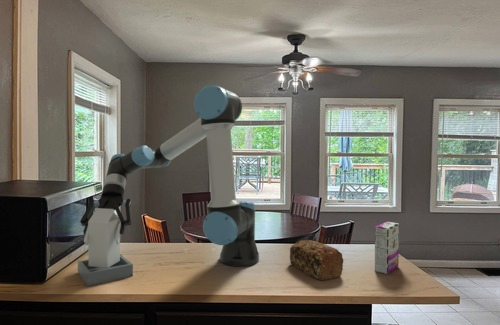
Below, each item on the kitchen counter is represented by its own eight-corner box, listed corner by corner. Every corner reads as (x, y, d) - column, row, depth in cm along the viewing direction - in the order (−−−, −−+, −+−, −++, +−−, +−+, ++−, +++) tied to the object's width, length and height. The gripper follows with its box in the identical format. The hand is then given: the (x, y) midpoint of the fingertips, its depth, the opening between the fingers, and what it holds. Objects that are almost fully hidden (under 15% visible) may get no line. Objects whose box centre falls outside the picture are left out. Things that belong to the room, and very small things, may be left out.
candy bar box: (385, 263, 125) (386, 221, 125) (398, 266, 122) (400, 223, 121) (373, 271, 117) (374, 225, 117) (387, 275, 114) (388, 228, 113)
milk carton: (107, 268, 108) (107, 211, 107) (88, 266, 109) (87, 210, 108) (120, 261, 115) (120, 207, 114) (102, 259, 116) (101, 206, 115)
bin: (132, 275, 111) (132, 264, 110) (87, 286, 102) (87, 273, 102) (119, 264, 122) (119, 253, 121) (77, 272, 113) (77, 261, 113)
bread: (343, 277, 111) (344, 248, 111) (318, 282, 107) (318, 252, 107) (311, 260, 128) (312, 235, 128) (288, 264, 124) (288, 238, 124)
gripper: (145, 194, 128) (137, 247, 113) (85, 195, 124) (69, 249, 109) (142, 182, 122) (134, 236, 107) (80, 182, 119) (62, 237, 104)
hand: (101, 242), depth 108 cm, fingers closed on milk carton, 9 cm apart
